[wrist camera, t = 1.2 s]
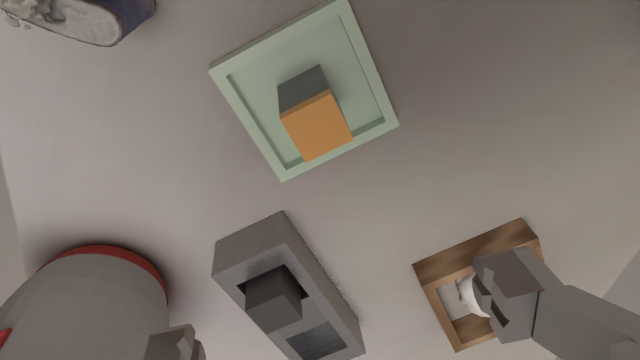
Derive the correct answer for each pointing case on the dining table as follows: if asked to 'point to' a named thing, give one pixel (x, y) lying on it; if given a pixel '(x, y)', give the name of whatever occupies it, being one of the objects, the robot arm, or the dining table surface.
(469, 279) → the garlic
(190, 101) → the dining table surface
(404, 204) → the dining table surface
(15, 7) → the blue box
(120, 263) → the citrus juicer
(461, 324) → the garlic corral
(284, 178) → the tray
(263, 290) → the twin plug
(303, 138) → the plug
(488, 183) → the dining table surface
